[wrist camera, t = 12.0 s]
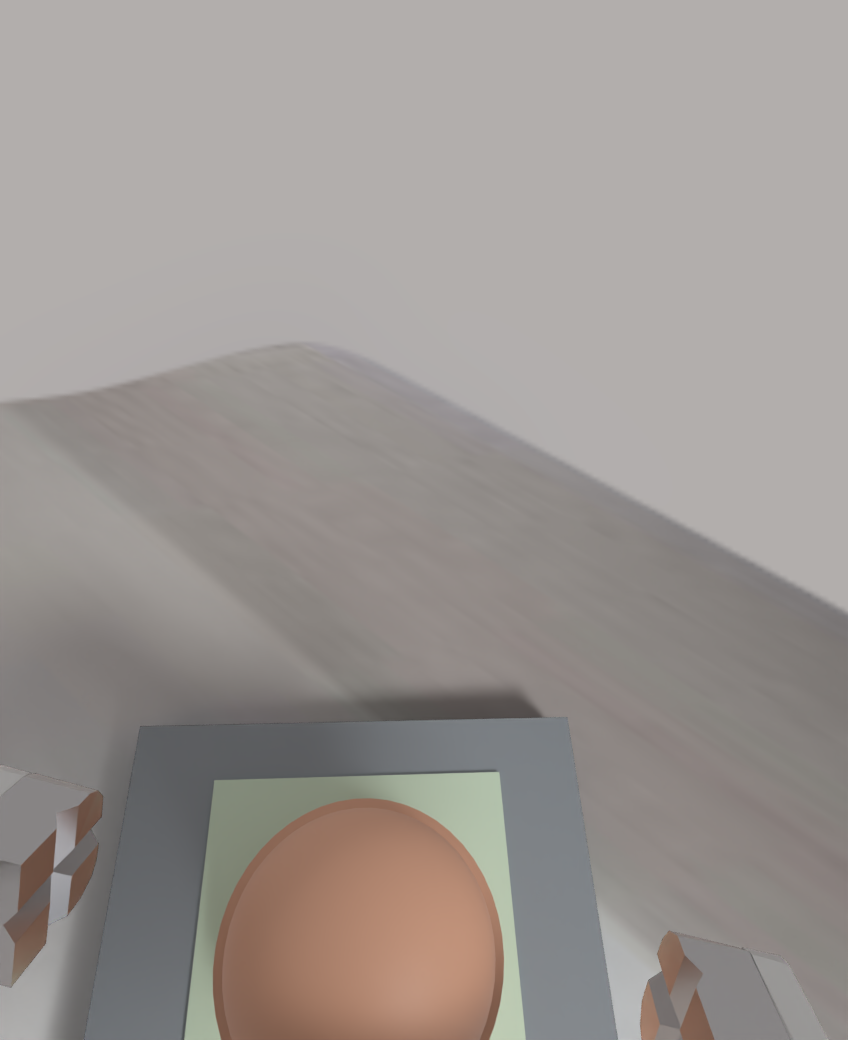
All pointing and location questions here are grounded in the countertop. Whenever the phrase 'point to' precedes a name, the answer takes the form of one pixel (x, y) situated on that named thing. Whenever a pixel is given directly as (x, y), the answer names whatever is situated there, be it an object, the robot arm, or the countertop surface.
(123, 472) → the countertop surface
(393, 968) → the pawn
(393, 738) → the board
